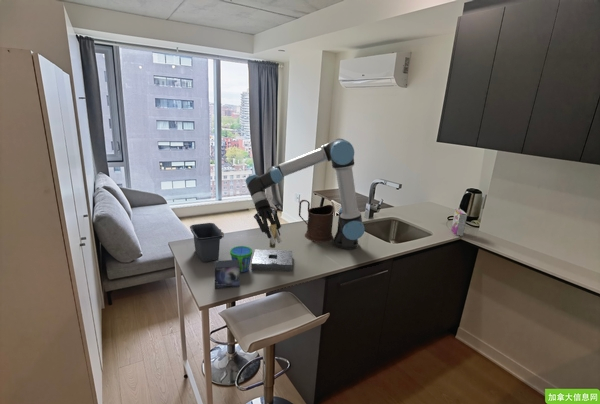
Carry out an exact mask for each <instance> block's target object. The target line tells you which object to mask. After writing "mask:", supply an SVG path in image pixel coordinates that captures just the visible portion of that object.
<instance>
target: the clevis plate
mask: <svg viewBox="0 0 600 404" xmlns="http://www.w3.org/2000/svg"><path fill="white" fill-rule="evenodd" d="M251 259H252V260H251V262H250V265H251V266H250V267H251V268H250V269H251V271H273V272H274V271H275V272H276V271H277V272H278V271H279V272H293V250H283V249H282V250H279V249H278V250H276V249H258V248H257V249H254V253H253V256H252V258H251Z"/></svg>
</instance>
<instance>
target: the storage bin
mask: <svg viewBox="0 0 600 404" xmlns="http://www.w3.org/2000/svg"><path fill="white" fill-rule="evenodd" d="M189 229H190V231H191V233H192V235H193V241H194V242H193V243H194V249H195V250H194V251H195V252H196V254H197V255H198V258H199V259H200V261H201V262H202V263H206V262H210V261H215V260H216V261H218V260H219V258H220V245H221V244H220V243H221V240H222V239H223V238H224V236H225V235H224V232H223V231H222V229H220V228H219V227H218V226H217V225H216V223H214V222H206V223H205V222H203V223H197V224H191V225H190V226H189Z"/></svg>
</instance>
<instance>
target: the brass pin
mask: <svg viewBox="0 0 600 404" xmlns="http://www.w3.org/2000/svg"><path fill="white" fill-rule="evenodd" d="M269 226H270V227H269V231H271V232H272V234H273V237H274V239H275V242H276V241H277V239H276V224H271V223H270V225H269ZM276 244H277V243H275V244H273V245H272V243H271V241H270V240H269V248H270V249H274V248H276Z"/></svg>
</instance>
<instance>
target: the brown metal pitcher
mask: <svg viewBox="0 0 600 404" xmlns="http://www.w3.org/2000/svg"><path fill="white" fill-rule="evenodd" d="M303 202H306V203H307V216H308V217H307V221H306V219H304V218H303V217H302V215H301V212H302V211H301V209H302V203H303ZM310 204H311V203H310V201H308V200H306V199H302V200H300V201H299V206H298V217H300V219H301V220H302V221H303V222H304V223H305V224H306V225H307V226H306V227H307V228H306V232H305V234H304V238H306V240H308V241H311V242H316V243H328V242H331V241H332V240H334V236H333V232H332V231H333V222H334V212H335V207H334V206H333V205H331V204H326V205H323V206H317V207H315V206H314V207H311V208H310V206H311V205H310Z"/></svg>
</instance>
